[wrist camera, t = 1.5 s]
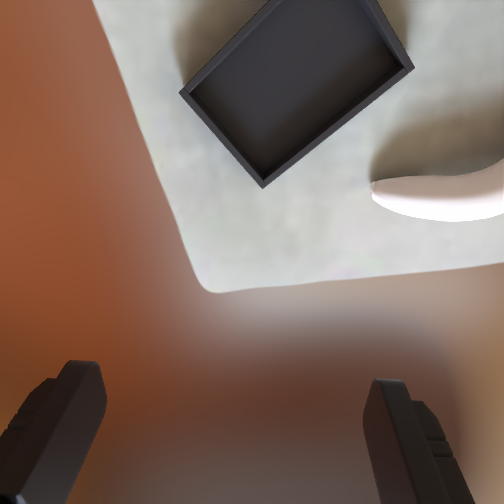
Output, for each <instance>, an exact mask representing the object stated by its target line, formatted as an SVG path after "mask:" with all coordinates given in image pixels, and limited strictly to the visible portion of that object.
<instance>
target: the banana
mask: <svg viewBox="0 0 504 504" xmlns="http://www.w3.org/2000/svg"><path fill="white" fill-rule="evenodd" d="M370 192H371V196H372V198H373V199H374V200H375V201H376V202H377V203H379V204H380V205H382V206H384V207H386V208H388V209H390V210H392V211H395V212H398V213H401V214H405V215H409V216H414V217H419V218H425V219H432V220H440V221H469V220H476V219H482V218H488V217H492V216H495V215H499V214H502V213H504V158H503V159H502V160H500V161H498V162H497V163H495V164H493V165H491V166H489V167H487V168H485V169H483V170H480V171H477V172H473V173H469V174H464V175H456V176H441V175H426V176H405V177H396V178H389V179H384V180H379V181H376V182H374V181H373V182H372V183H371V186H370Z"/></svg>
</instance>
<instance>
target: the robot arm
mask: <svg viewBox="0 0 504 504" xmlns="http://www.w3.org/2000/svg"><path fill="white" fill-rule="evenodd" d="M106 405H107V395H106V391H105V387H104V383H103V379H102V375H101V371H100V366H99V364H98V363H97V362H95V361H78V360H70V361H68V362H67V363H66V364H65V366H64V367H63V369H62V370H61V372H60V373H59V375H58V376H57V378H56V379H53V378H47V379H46V380H45V381H44V382H42V383H41V384H40V385H39V386H38V387H37V388H35V389H34V390H33V391H32V392H31V393H30V394H29V395H28V397H27V398H26V400H25V401H24V402H23V404H22V405H21V407H20V408H19V410H18V413H17V414H15V416H14V417H13V419H12V420H11V422H10V423H9V425H8V428H7V429H6V430H4V432H3V433H2V435H1V436H0V504H65V503H66V501H67V499H68V496H69V494H70V492H71V490H72V488H73V485H74V483H75V481H76V478H77V476H78V474H79V472H80V469H81V467H82V465H83V463H84V460H85V458H86V456H87V454H88V451H89V449H90V447H91V444H92V442H93V440H94V438H95V435H96V433H97V430H98V429H99V426H100V424H101V421H102V419H103V417H104V414H105V410H106ZM363 428H364V435H365V439H366V443H367V447H368V452H369V456H370V460H371V464H372V468H373V472H374V477H375V481H376V485H377V488H378V493H379V497H380V502H381V504H475V502H474V500H473V497H472V495H471V493H470V491H469V488H468V486H467V484H466V482H465V480H464V477H463V475H462V473H461V470H460V468H459V466H458V464H457V461H456V459H455V458H454V457H453V452H452V450H451V448H450V446H449V443H448V442H447V441H446V437H445V434H444V432H443V430H442V428H441V425H440V423H439V421H438V419H437V418H436V416H435V415H434V414H433V413H432V412H431V410H430V409H429V408H428V407H427V406H426V405H425V404H424V402H423V401H413V400H411V399H410V395H409V393H408V390H407V388H406V386H405V384H404V382H403V381H402V380H393V379H374V380H373V382H372V385H371V389H370V392H369V395H368V399H367V402H366V405H365V409H364V413H363Z"/></svg>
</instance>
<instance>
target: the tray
mask: <svg viewBox="0 0 504 504" xmlns="http://www.w3.org/2000/svg"><path fill="white" fill-rule="evenodd" d="M413 69H415V67H414V65H413V63H412V61H411V60H410V58H409V56H408V54H407V53H406V51H405V49H404V47H403V46H402V44H401V42H400V40H399V39H398V37H397V35H396V33H395V32H394V30H393V28H392V26H391V25H390V23H389V21H388V19H387V18H386V16H385V14H384V13H383V11H382V9H381V7H380V6H379V4H378V2H377V0H269V1H268V2H267V3H266V4H265V5H264V6H263V7H262V8H261V9H260V10H259V11H258V12H257V13H256V14H255V15H254V16H253V17H252V18H251V19H250V20H249V21H248V22H247V23H246V24H245V25H244V26H243V27H242V28H241V30H240V31H239V32H238V33H237V34H236V35H235V36H234V37H233V38H232V39H231V40H230V41H229V42H228V43H227V44H226V45H225V46H224V47H223V48H222V49H221V50H220V51H219V52H218V53H217V54H216V55H215V56H214V57H213V58H212V59H211V60H210V61H209V62H208V63H207V64H206V65H205V66H204V67H203V68H202V69H201V70H200V71H199V72H198V73H197V74H196V75H195V76H194V77H193V78H192V79H191V80H190V81H189V82H188V83H187V84H186V85H185V86H184V88H182V89H181V90H180V91H179V94H180V95H181V96H182V98H183V99H184V100H185V101H186V102H187V103H188V104H189V106H190V107H191V108H192V109H193V110H194V111H195V112H196V114H197V115H198V116H199V117H200V118H201V119H202V120H203V122H204V123H205V124H206V125H207V126H208V127H209V129H210V130H211V131H212V132H213V133H214V134H215V135H216V137H217V138H218V139H219V140H220V141H221V142H222V143H223V145H224V146H225V147H226V148H227V149H228V150H229V151H230V153H231V154H232V155H233V156H234V157H235V158H236V159H237V161H238V162H239V163H240V164H241V165H242V166H243V167H244V169H245V170H246V171H247V172H248V173H249V174H250V176H251V177H252V178H253V179H254V180H255V181H256V182H257V184H258V185H259V186H260V187H261V188H262V189H263V188H265V187H266V186H267V185H268V184H270V183H271V182H272V181H273V180H275V179H276V178H277V177H279V176H280V175H281V174H282V173H284V172H285V171H286V170H287V169H289V168H290V167H291V166H292V165H294V164H295V163H296V162H297V161H299V160H300V159H301V158H302V157H304V156H305V155H306V154H308V153H309V152H310V151H311V150H313V149H314V148H315V147H316V146H318V145H319V144H320V143H321V142H323V141H324V140H325V139H326V138H328V137H329V136H330V135H331V134H333V133H334V132H335V131H337V130H338V129H339V128H340V127H342V126H343V125H344V124H345V123H347V122H348V121H349V120H350V119H352V118H353V117H354V116H355V115H357V114H358V113H359V112H360V111H362V110H363V109H364V108H366V107H367V106H368V105H369V104H371V103H372V102H373V101H374V100H376V99H377V98H378V97H379V96H381V95H382V94H383V93H384V92H386V91H387V90H388V89H389V88H391V87H392V86H393V85H395V84H396V83H397V82H398V81H400V80H401V79H402V78H403V77H405V76H406V75H407V74H408V73H410V72H411V71H412V70H413Z"/></svg>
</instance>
